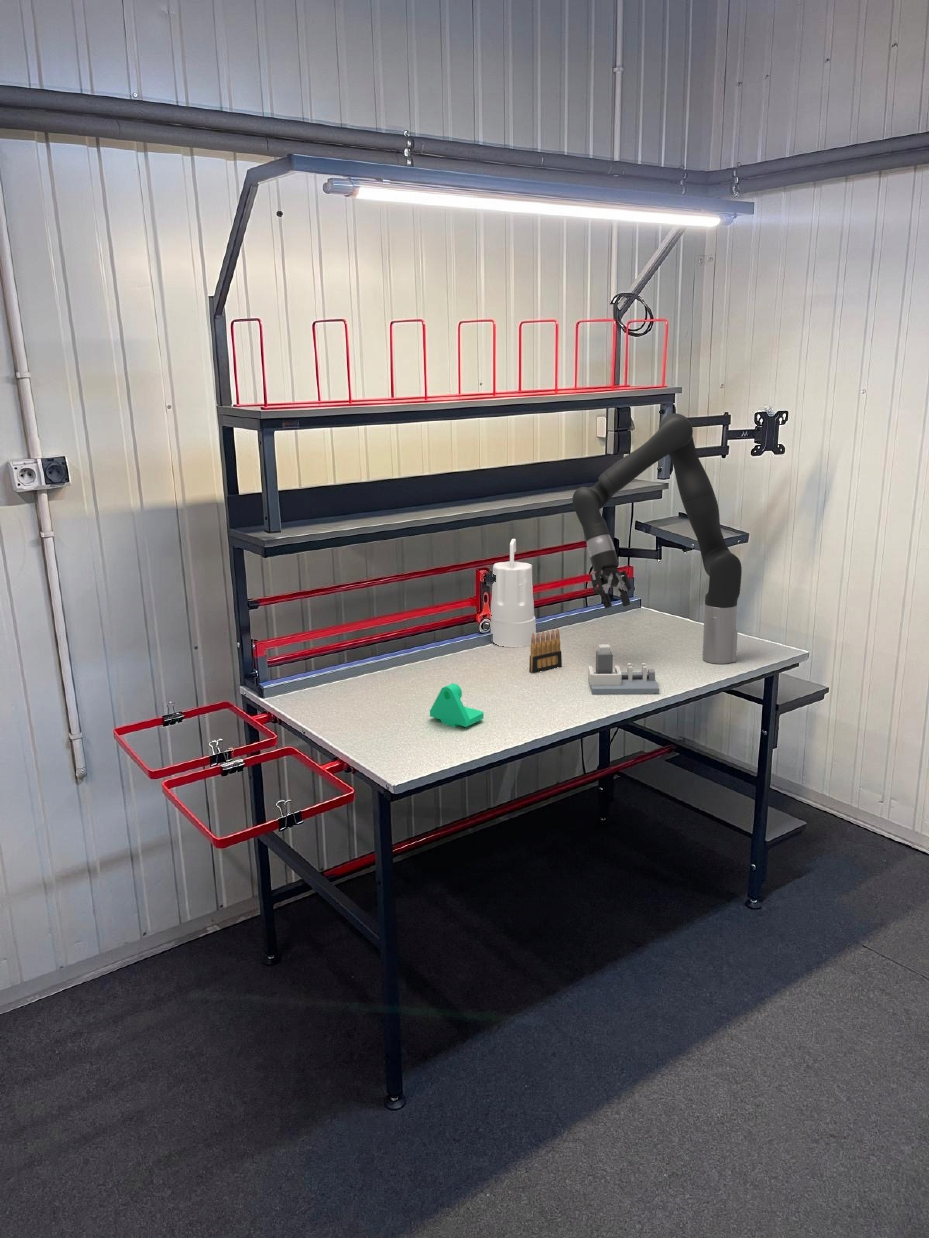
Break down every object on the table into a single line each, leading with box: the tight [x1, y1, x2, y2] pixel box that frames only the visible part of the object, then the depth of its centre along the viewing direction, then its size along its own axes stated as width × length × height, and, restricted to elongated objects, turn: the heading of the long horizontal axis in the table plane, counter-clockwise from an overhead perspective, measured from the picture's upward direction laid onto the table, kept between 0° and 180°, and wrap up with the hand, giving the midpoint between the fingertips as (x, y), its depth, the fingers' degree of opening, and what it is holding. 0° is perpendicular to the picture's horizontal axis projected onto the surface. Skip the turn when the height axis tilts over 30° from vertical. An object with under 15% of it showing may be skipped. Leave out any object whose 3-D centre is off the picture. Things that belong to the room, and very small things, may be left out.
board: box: [587, 662, 660, 695], centre depth 251 cm, size 18×14×6 cm
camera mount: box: [429, 683, 484, 728], centre depth 228 cm, size 12×8×10 cm, turn 50°
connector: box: [595, 643, 614, 674], centre depth 250 cm, size 4×4×10 cm
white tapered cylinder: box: [490, 538, 537, 648], centre depth 293 cm, size 15×15×33 cm
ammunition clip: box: [528, 627, 563, 674], centre depth 266 cm, size 11×2×12 cm, turn 121°
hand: (617, 606), depth 259 cm, fingers open, 8 cm apart
